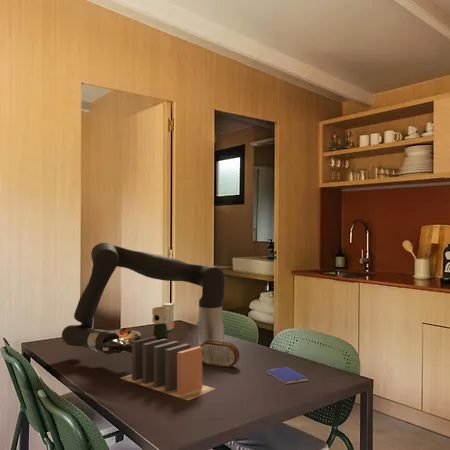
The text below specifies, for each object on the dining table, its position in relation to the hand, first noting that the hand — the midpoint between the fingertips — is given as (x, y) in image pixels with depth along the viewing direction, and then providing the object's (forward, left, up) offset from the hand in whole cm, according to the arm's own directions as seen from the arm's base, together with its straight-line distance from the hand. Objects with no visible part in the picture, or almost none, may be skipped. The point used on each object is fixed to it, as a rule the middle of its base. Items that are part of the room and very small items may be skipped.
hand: (135, 349), depth 153 cm
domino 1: (-1, +4, -8) cm, 9 cm away
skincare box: (-48, -52, -9) cm, 71 cm away
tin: (-29, +8, -9) cm, 31 cm away
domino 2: (-2, +8, -8) cm, 12 cm away
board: (-3, +13, -9) cm, 16 cm away
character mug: (-36, -40, -9) cm, 55 cm away
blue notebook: (-38, +31, -10) cm, 50 cm away
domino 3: (-3, +13, -8) cm, 16 cm away
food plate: (-18, -50, -9) cm, 54 cm away
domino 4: (-4, +18, -8) cm, 20 cm away
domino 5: (-5, +23, -8) cm, 25 cm away
